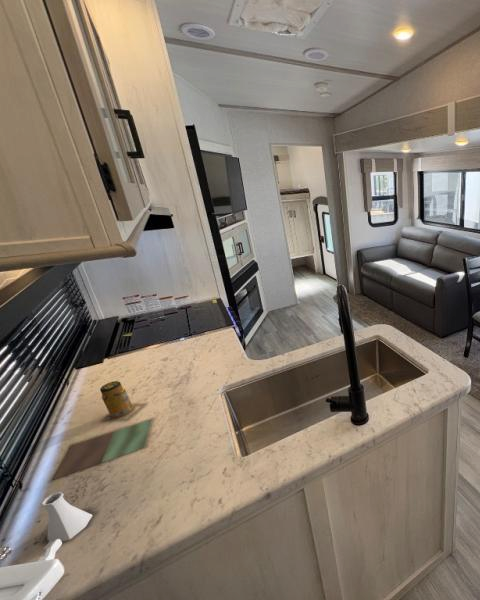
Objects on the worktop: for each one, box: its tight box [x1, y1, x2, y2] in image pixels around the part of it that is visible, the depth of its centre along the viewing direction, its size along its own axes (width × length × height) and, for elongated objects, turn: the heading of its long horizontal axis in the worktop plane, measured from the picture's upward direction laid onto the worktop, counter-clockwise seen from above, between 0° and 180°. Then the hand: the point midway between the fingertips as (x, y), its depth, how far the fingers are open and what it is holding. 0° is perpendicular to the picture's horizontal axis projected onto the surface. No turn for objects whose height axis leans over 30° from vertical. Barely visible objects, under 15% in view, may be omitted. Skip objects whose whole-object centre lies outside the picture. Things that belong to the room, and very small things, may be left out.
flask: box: [40, 491, 93, 543], centre depth 70 cm, size 7×7×10 cm
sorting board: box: [53, 419, 152, 481], centre depth 94 cm, size 20×14×1 cm
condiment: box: [99, 380, 134, 419], centre depth 106 cm, size 7×8×12 cm
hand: (32, 545), depth 63 cm, fingers open, 8 cm apart
